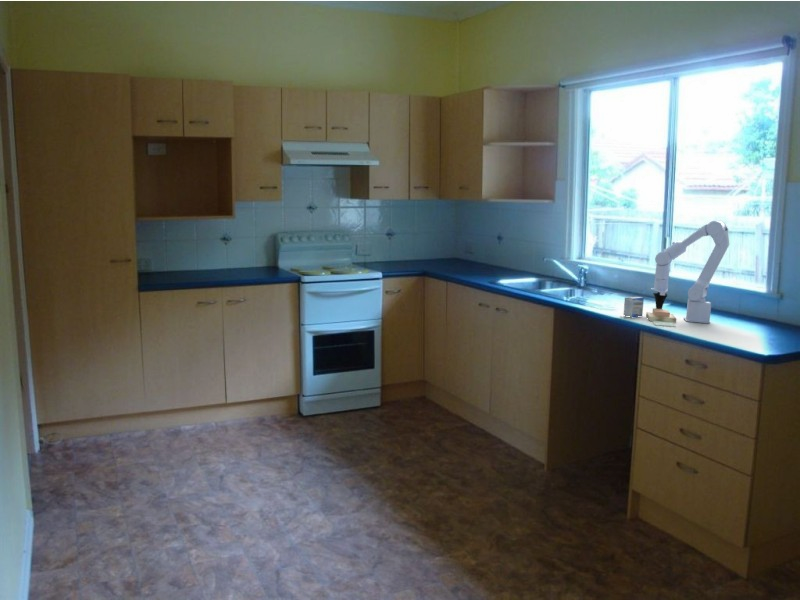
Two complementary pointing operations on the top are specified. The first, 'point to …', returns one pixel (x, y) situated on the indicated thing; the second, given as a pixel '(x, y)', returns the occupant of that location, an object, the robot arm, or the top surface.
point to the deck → (661, 318)
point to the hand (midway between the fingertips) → (658, 309)
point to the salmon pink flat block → (661, 312)
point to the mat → (664, 323)
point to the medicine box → (633, 306)
